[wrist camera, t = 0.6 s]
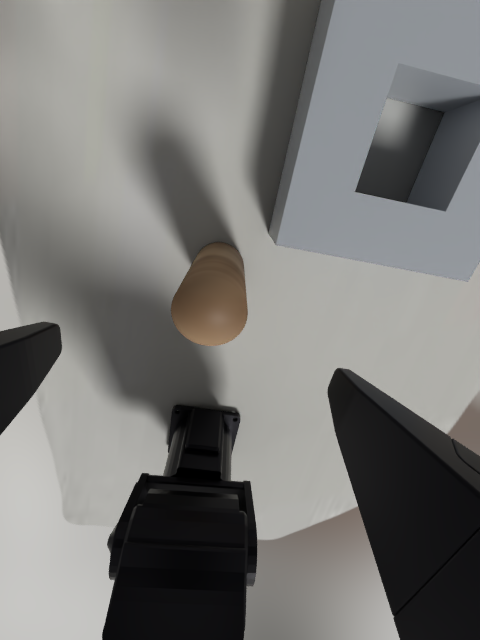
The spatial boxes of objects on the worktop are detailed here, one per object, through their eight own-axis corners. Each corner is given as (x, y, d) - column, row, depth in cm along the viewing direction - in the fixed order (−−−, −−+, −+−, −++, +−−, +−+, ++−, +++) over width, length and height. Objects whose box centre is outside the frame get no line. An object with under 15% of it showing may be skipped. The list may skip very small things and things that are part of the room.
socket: (426, 264, 20) (468, 281, 16) (268, 233, 19) (275, 244, 15) (533, 50, 15) (628, 8, 11) (323, -10, 14) (354, -78, 10)
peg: (238, 294, 21) (239, 350, 14) (192, 285, 21) (168, 339, 13) (248, 247, 19) (254, 284, 12) (197, 237, 19) (174, 269, 12)
